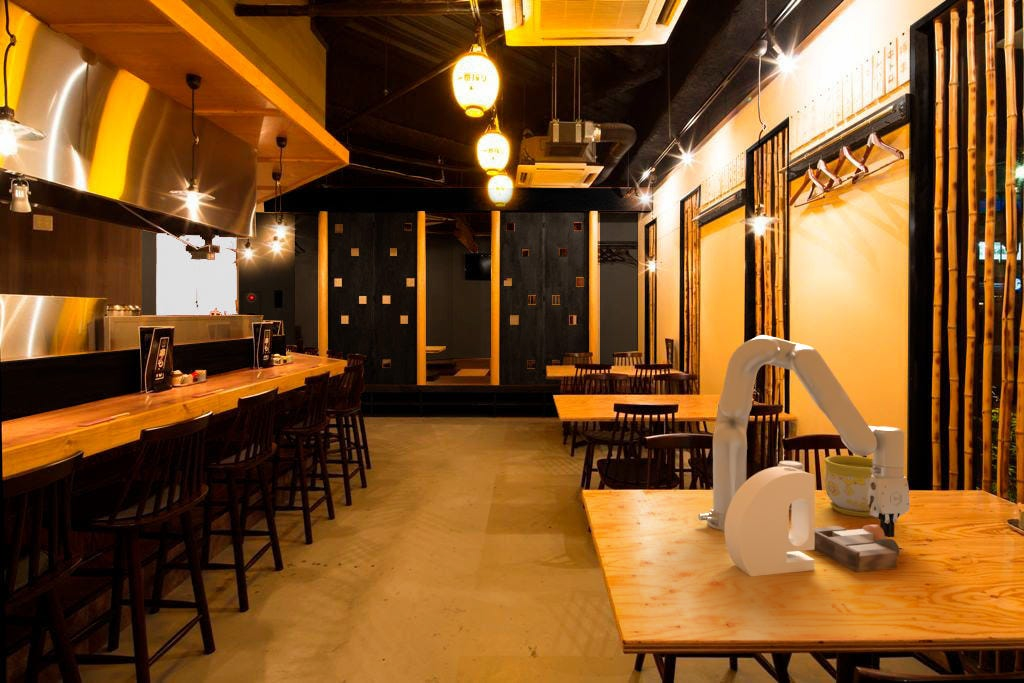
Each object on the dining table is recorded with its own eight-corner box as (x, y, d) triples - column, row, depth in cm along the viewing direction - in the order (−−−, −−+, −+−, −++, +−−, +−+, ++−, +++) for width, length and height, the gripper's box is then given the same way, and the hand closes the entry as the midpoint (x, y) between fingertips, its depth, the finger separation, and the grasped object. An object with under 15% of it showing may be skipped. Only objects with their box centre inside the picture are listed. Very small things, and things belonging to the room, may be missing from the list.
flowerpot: (811, 506, 198) (812, 458, 198) (848, 499, 205) (849, 453, 205) (862, 523, 182) (862, 470, 181) (900, 515, 189) (900, 464, 188)
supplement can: (808, 510, 194) (809, 465, 193) (783, 510, 194) (783, 465, 193) (797, 503, 202) (797, 460, 201) (773, 503, 202) (773, 460, 202)
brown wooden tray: (855, 572, 146) (856, 552, 146) (801, 542, 166) (801, 525, 166) (896, 568, 149) (897, 548, 149) (838, 539, 168) (838, 522, 168)
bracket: (814, 570, 148) (815, 471, 147) (739, 577, 144) (739, 476, 143) (796, 560, 155) (797, 465, 154) (724, 566, 151) (724, 469, 150)
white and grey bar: (855, 565, 149) (855, 546, 149) (841, 557, 154) (841, 539, 154) (899, 560, 152) (899, 542, 152) (884, 553, 157) (884, 535, 156)
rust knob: (843, 548, 160) (843, 531, 160) (830, 542, 165) (830, 525, 165) (884, 544, 163) (884, 527, 163) (870, 538, 167) (870, 522, 167)
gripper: (875, 476, 160) (875, 542, 160) (922, 473, 163) (921, 538, 163) (854, 469, 167) (854, 533, 168) (899, 466, 170) (898, 529, 171)
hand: (887, 535), depth 166 cm, fingers closed
